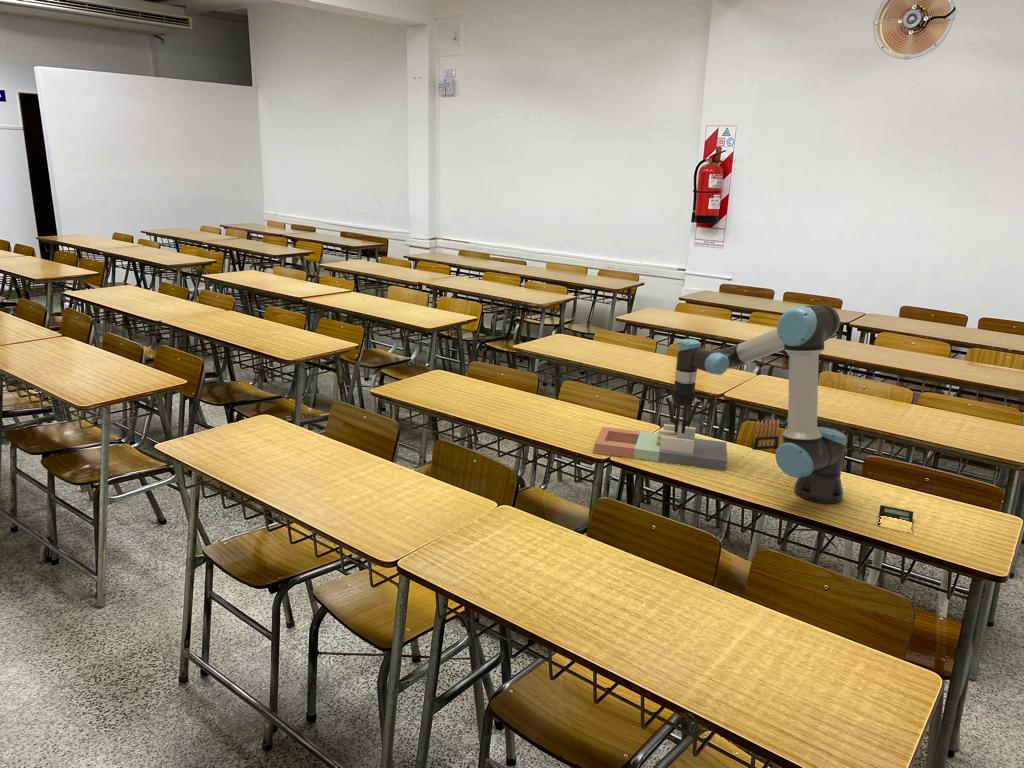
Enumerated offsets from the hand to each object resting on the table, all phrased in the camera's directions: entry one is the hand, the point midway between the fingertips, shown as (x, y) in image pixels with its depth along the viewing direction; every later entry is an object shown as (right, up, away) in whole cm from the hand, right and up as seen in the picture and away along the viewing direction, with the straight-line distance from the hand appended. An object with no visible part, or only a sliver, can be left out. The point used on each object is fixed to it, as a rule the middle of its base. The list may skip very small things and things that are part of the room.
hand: (678, 440), depth 271 cm
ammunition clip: (+37, -4, +12) cm, 39 cm away
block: (-4, -1, +2) cm, 4 cm away
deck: (-6, -5, +3) cm, 8 cm away
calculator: (+57, -22, -47) cm, 77 cm away
